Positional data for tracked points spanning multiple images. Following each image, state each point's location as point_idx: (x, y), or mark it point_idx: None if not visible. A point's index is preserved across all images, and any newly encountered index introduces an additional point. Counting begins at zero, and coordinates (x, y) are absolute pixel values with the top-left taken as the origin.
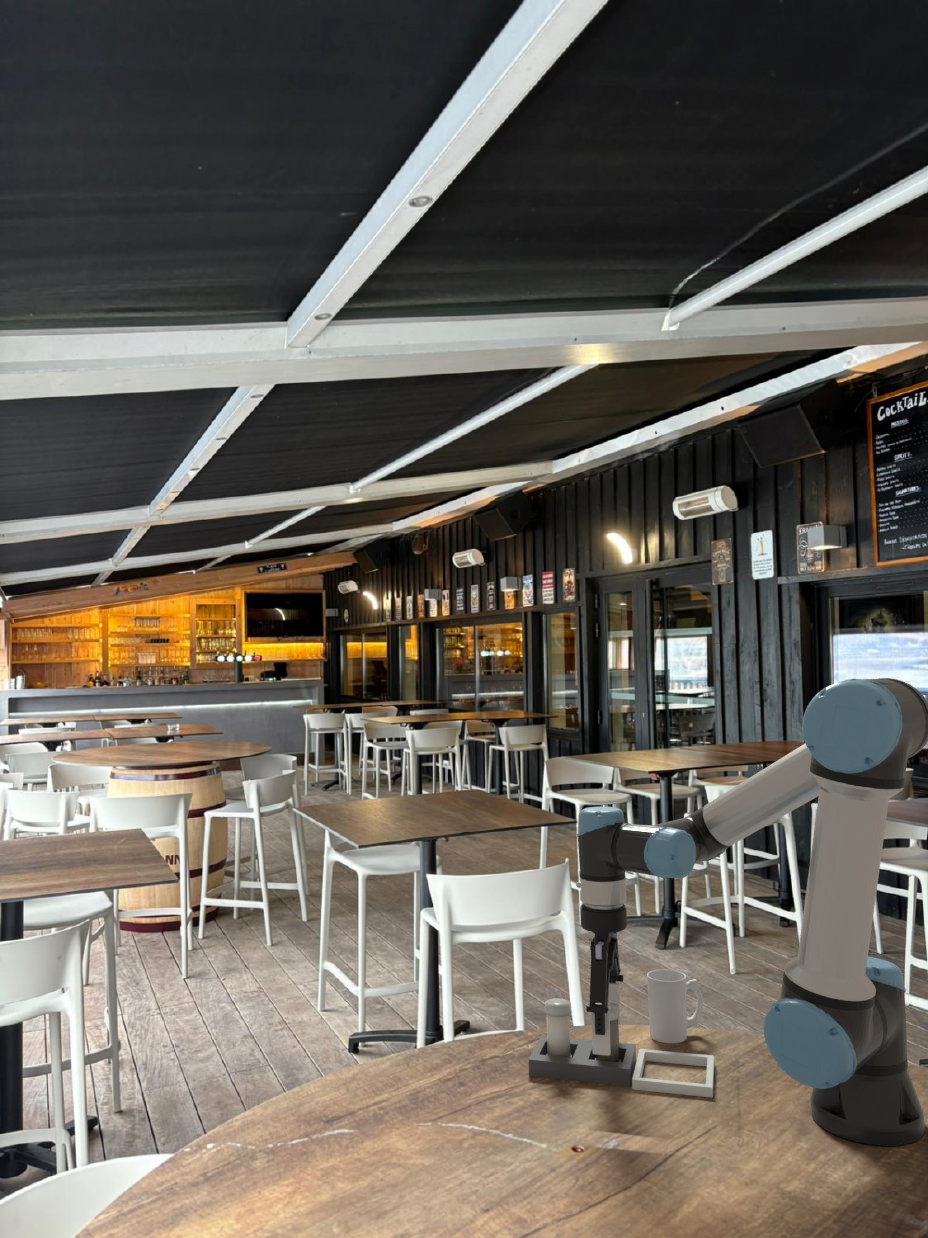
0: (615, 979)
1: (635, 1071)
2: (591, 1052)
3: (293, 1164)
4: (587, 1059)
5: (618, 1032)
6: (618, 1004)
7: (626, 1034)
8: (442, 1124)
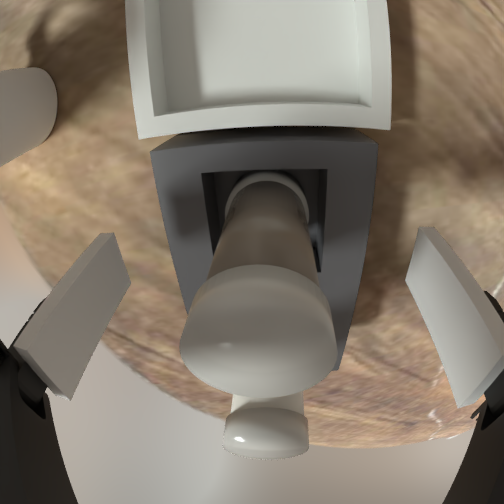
0: (17, 375)
1: (328, 121)
2: None
3: (469, 407)
4: (322, 274)
5: (267, 227)
6: (76, 283)
7: (28, 206)
8: (440, 372)
